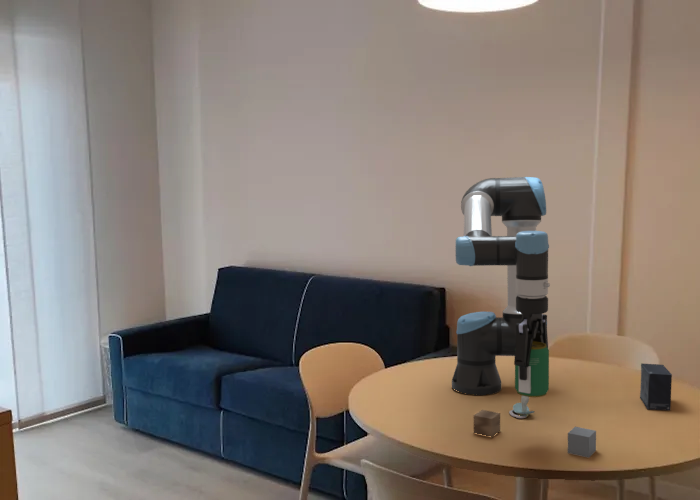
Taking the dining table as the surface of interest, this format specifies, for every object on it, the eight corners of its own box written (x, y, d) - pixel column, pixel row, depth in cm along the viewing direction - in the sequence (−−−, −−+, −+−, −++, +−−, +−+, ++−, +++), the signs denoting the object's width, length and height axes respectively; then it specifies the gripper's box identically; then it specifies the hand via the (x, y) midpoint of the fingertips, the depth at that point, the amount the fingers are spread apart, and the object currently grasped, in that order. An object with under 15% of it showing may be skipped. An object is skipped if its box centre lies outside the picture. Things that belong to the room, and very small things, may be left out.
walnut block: (473, 434, 178) (473, 415, 177) (482, 428, 182) (482, 409, 181) (491, 438, 175) (491, 418, 174) (500, 432, 179) (500, 413, 178)
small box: (672, 411, 190) (673, 374, 189) (647, 410, 191) (647, 373, 190) (663, 399, 200) (664, 363, 199) (639, 398, 202) (639, 362, 201)
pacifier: (516, 421, 186) (537, 418, 187) (515, 398, 186) (536, 396, 187) (505, 412, 193) (525, 410, 194) (504, 390, 193) (524, 388, 194)
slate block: (567, 453, 164) (567, 432, 164) (575, 446, 168) (575, 426, 167) (588, 458, 161) (589, 437, 161) (595, 450, 165) (596, 430, 164)
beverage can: (554, 391, 170) (554, 343, 169) (538, 400, 164) (538, 350, 163) (525, 385, 175) (525, 338, 174) (508, 393, 170) (508, 345, 168)
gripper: (529, 304, 156) (529, 402, 159) (562, 290, 173) (562, 378, 176) (498, 301, 161) (499, 396, 164) (533, 287, 177) (533, 374, 180)
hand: (531, 387), depth 170 cm, fingers closed on beverage can, 8 cm apart
